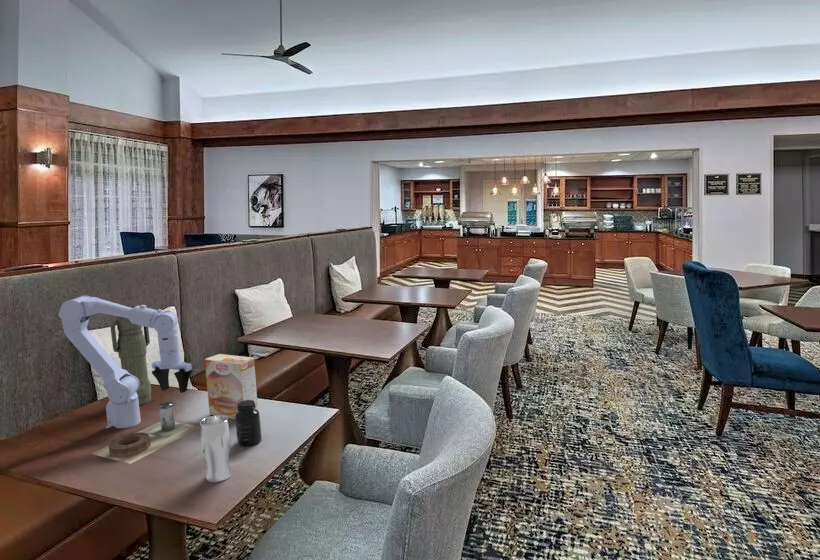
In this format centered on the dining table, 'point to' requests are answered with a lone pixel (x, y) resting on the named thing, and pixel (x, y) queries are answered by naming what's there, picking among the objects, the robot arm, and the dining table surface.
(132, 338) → the thermos
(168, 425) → the pin
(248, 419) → the supplement bottle
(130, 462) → the board
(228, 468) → the beer glass
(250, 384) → the coffeecake box
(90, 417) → the dining table surface
